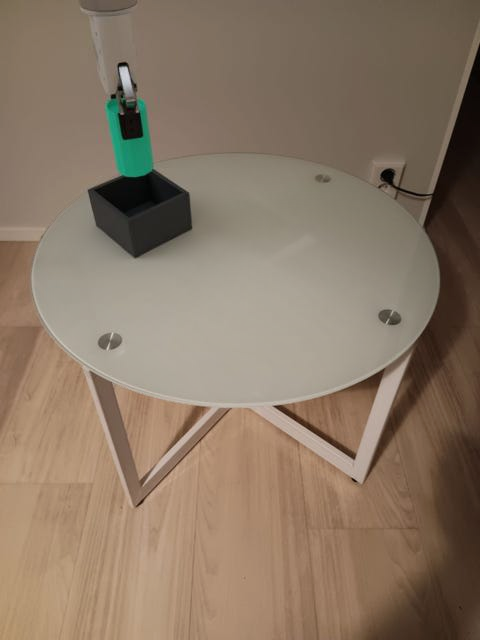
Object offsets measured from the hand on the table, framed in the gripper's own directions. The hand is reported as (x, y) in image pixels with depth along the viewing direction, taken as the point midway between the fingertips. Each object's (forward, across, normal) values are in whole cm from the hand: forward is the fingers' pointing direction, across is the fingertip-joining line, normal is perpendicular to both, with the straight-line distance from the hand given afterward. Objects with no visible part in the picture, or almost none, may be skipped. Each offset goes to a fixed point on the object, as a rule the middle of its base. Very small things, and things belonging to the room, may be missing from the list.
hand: (128, 127), depth 79 cm
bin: (+19, 0, 0) cm, 19 cm away
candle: (+7, 0, 0) cm, 7 cm away
